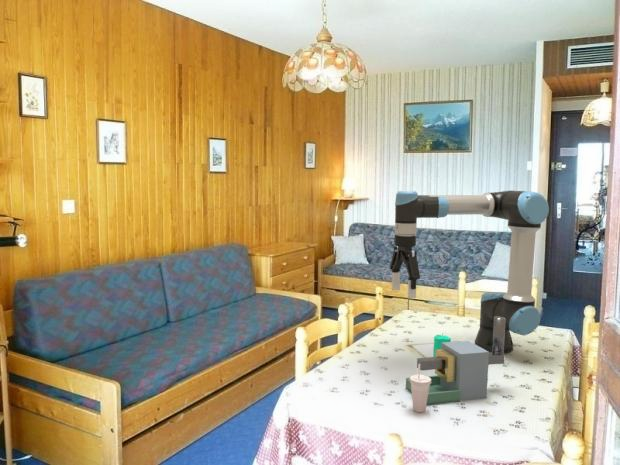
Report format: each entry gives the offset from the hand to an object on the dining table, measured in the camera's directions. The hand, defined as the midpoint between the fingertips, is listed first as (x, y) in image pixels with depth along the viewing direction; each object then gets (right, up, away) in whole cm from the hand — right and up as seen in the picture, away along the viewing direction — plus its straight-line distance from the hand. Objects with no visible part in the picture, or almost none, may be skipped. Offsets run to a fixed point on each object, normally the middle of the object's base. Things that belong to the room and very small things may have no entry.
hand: (403, 294), depth 195 cm
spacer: (+10, -21, -20) cm, 30 cm away
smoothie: (0, -32, -31) cm, 44 cm away
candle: (+16, -28, +9) cm, 33 cm away
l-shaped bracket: (+16, -21, -18) cm, 32 cm away
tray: (+6, -30, -20) cm, 36 cm away
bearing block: (+16, -30, -17) cm, 38 cm away
